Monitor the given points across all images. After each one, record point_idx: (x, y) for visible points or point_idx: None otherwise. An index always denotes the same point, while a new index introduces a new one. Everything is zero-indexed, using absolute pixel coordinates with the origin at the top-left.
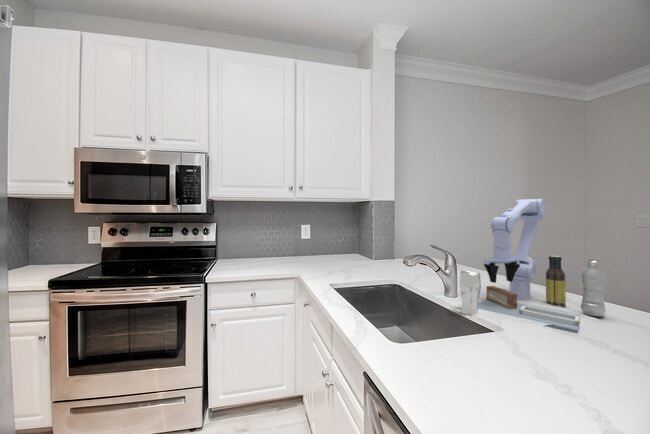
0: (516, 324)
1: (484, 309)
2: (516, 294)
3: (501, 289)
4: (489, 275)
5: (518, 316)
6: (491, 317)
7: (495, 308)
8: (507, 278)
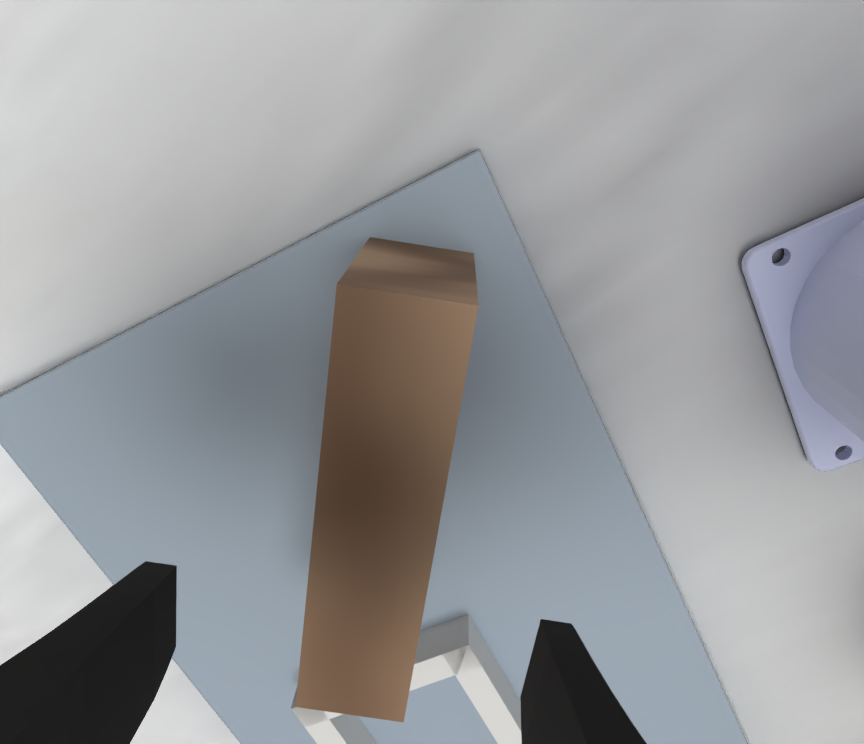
0: (134, 736)
1: (52, 498)
2: (390, 718)
3: (405, 516)
4: (51, 650)
5: (233, 707)
6: (40, 589)
7: (195, 515)
8: (540, 669)
